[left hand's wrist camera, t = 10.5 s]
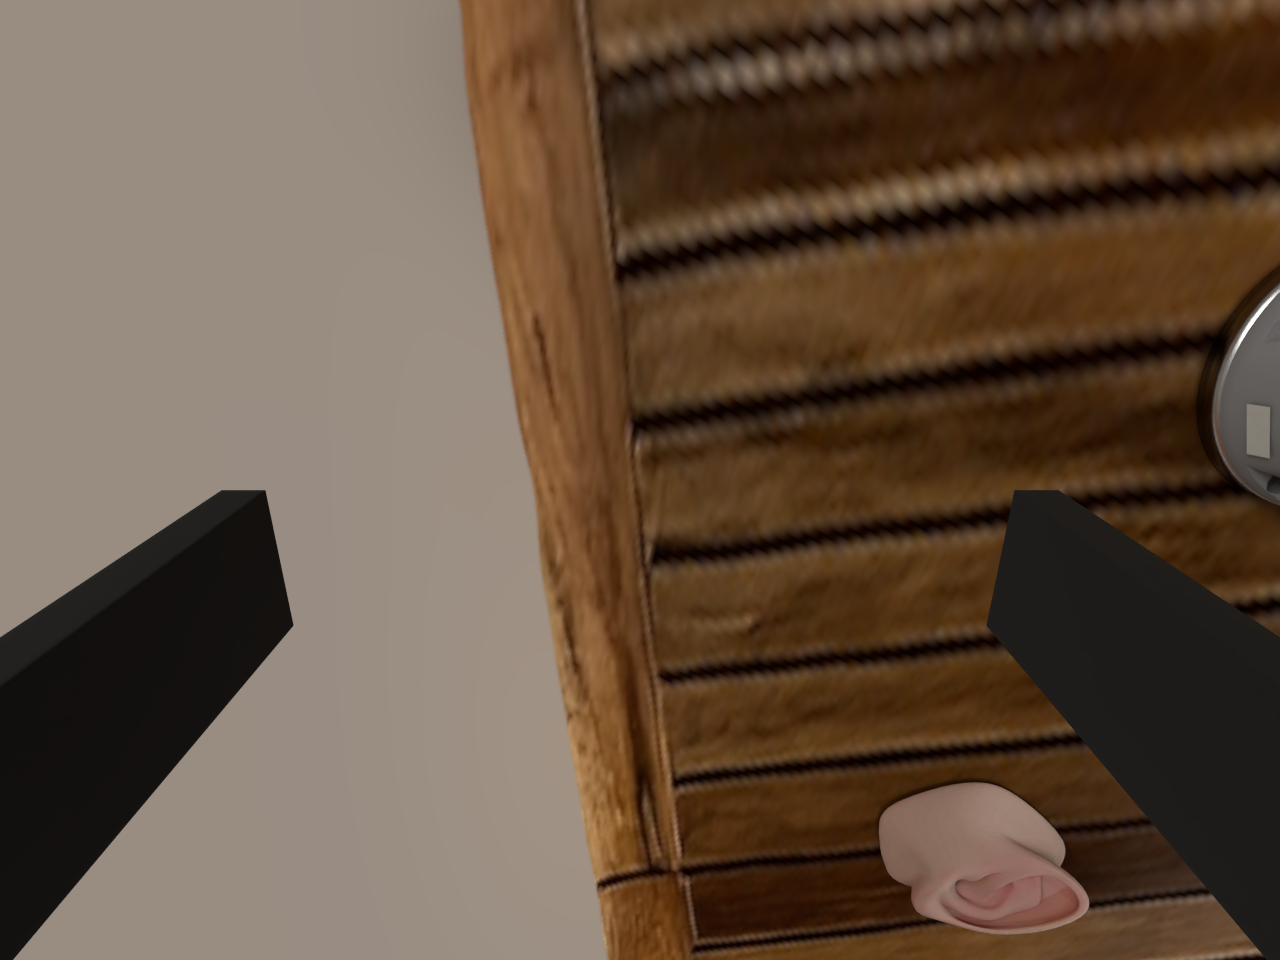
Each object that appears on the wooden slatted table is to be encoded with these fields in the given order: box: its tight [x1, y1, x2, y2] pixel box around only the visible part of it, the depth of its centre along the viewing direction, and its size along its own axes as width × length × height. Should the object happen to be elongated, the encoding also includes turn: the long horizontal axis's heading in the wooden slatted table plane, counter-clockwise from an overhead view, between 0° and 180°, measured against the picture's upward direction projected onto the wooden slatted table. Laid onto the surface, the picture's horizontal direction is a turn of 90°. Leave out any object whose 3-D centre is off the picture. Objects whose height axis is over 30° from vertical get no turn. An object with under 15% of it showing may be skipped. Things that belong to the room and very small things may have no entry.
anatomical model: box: [879, 782, 1089, 934], centre depth 48 cm, size 13×4×12 cm
